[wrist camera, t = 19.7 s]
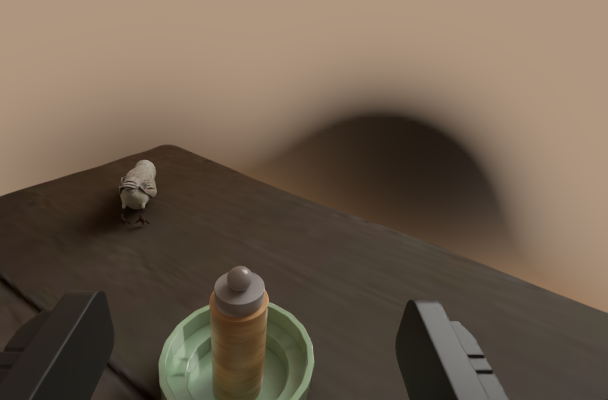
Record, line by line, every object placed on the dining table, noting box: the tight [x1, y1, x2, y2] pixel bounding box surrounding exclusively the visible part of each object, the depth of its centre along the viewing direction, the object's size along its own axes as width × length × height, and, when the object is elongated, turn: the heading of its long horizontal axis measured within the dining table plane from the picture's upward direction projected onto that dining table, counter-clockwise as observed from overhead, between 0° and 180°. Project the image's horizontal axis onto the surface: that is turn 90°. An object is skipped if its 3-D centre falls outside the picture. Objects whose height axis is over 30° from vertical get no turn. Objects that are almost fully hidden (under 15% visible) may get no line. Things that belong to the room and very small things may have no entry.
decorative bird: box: [116, 160, 157, 225], centre depth 62 cm, size 5×16×8 cm, turn 11°
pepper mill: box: [210, 266, 269, 400], centre depth 32 cm, size 5×5×14 cm
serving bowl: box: [158, 303, 314, 400], centre depth 35 cm, size 14×14×5 cm
